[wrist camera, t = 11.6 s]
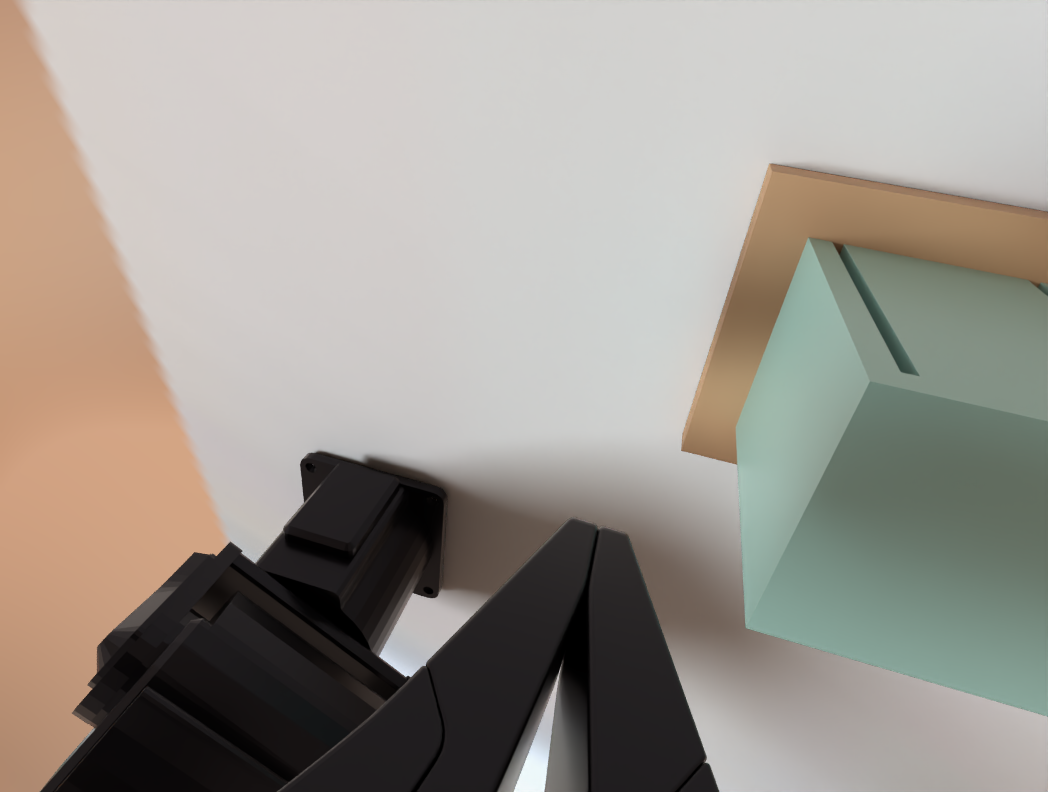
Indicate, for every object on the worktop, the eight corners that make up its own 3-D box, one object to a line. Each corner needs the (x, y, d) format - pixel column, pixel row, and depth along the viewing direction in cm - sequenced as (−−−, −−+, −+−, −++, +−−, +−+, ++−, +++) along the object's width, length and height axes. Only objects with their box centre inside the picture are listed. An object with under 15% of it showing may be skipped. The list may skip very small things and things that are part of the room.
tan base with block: (961, 502, 20) (1083, 741, 13) (682, 433, 21) (668, 620, 15) (1147, 229, 15) (1486, 393, 8) (769, 163, 16) (805, 259, 10)
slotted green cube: (943, 478, 19) (1065, 721, 12) (735, 427, 20) (745, 628, 13) (1067, 287, 15) (1326, 484, 9) (808, 237, 16) (870, 380, 10)
